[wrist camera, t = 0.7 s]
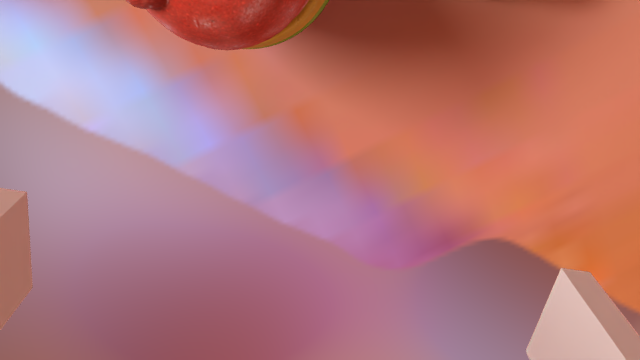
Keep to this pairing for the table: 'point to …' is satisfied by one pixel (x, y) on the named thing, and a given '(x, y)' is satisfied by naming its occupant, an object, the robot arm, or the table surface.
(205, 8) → the stacking bear
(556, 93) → the table surface
